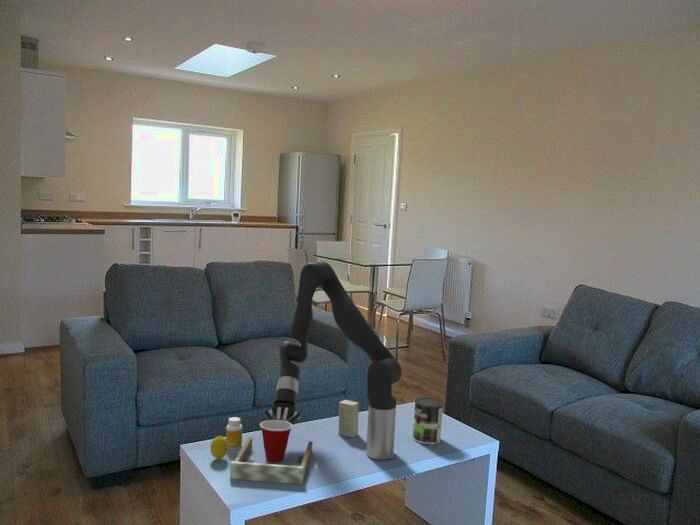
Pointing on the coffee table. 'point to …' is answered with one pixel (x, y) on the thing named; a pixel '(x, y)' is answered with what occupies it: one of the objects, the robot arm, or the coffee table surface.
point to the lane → (268, 468)
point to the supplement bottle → (234, 433)
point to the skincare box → (348, 418)
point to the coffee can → (427, 420)
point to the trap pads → (299, 460)
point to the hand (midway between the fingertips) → (278, 439)
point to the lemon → (219, 447)
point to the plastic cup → (275, 439)
